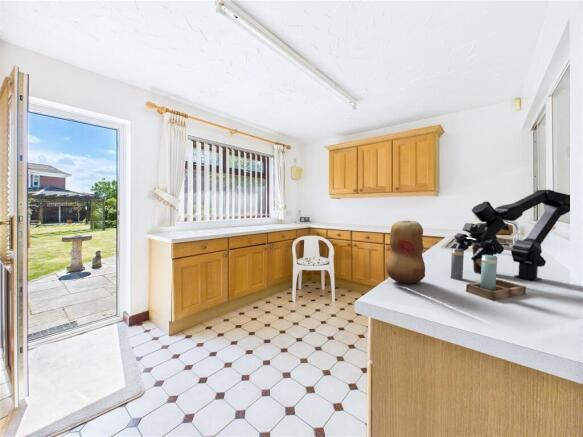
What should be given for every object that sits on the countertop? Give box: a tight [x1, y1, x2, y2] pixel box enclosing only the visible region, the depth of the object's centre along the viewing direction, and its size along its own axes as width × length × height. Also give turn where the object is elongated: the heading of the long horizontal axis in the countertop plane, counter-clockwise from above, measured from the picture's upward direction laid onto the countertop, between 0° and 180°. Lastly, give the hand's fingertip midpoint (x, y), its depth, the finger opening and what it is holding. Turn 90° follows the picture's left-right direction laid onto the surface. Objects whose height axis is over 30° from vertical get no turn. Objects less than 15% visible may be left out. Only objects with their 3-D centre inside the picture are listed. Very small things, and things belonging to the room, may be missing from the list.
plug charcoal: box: [450, 247, 465, 281], centre depth 100 cm, size 4×4×13 cm
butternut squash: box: [385, 219, 426, 285], centre depth 96 cm, size 14×13×25 cm
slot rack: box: [465, 278, 527, 302], centre depth 84 cm, size 17×9×4 cm, turn 110°
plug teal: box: [480, 255, 498, 291], centre depth 83 cm, size 4×4×13 cm
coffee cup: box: [471, 244, 494, 275], centre depth 111 cm, size 9×8×13 cm
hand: (462, 257), depth 100 cm, fingers open, 9 cm apart
